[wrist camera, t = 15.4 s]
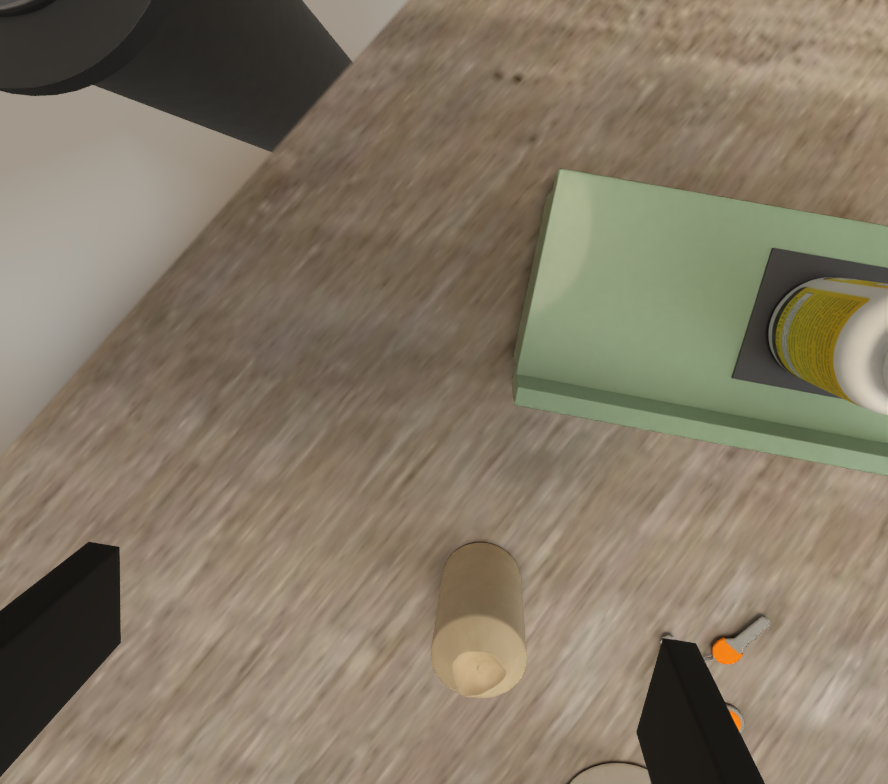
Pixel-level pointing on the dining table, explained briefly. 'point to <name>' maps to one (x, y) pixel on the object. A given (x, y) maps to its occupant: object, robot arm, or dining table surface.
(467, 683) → the candle
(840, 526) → the dining table surface
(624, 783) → the mug
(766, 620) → the key chain
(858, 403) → the supplement bottle
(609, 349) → the green l-shaped stand
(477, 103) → the dining table surface
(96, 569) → the robot arm
